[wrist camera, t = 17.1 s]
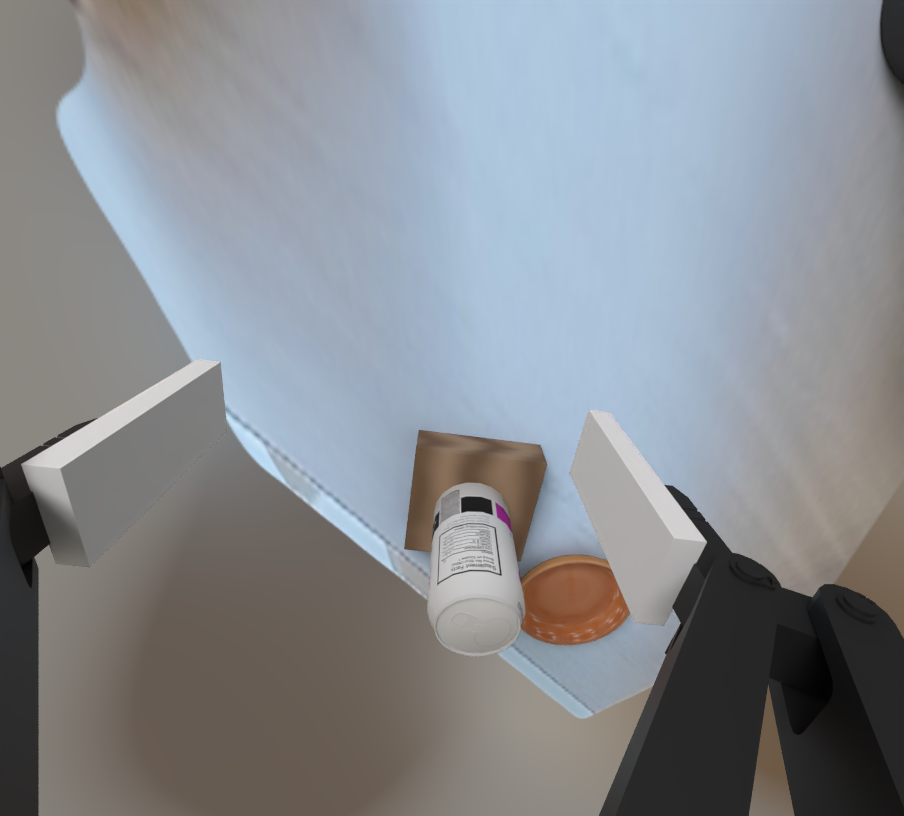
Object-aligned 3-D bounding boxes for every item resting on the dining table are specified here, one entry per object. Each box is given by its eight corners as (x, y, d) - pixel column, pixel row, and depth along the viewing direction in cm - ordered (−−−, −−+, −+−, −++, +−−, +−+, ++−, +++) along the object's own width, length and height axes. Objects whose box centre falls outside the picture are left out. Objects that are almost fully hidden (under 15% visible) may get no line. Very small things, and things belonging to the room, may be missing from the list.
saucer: (637, 611, 61) (645, 630, 58) (529, 638, 63) (533, 657, 61) (612, 529, 55) (620, 546, 52) (494, 563, 57) (496, 581, 54)
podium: (540, 445, 49) (547, 464, 45) (515, 538, 55) (520, 561, 51) (419, 430, 48) (416, 448, 45) (407, 526, 54) (404, 549, 50)
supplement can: (521, 499, 47) (548, 616, 34) (480, 547, 50) (490, 672, 37) (459, 466, 45) (462, 576, 32) (421, 518, 48) (408, 639, 35)
